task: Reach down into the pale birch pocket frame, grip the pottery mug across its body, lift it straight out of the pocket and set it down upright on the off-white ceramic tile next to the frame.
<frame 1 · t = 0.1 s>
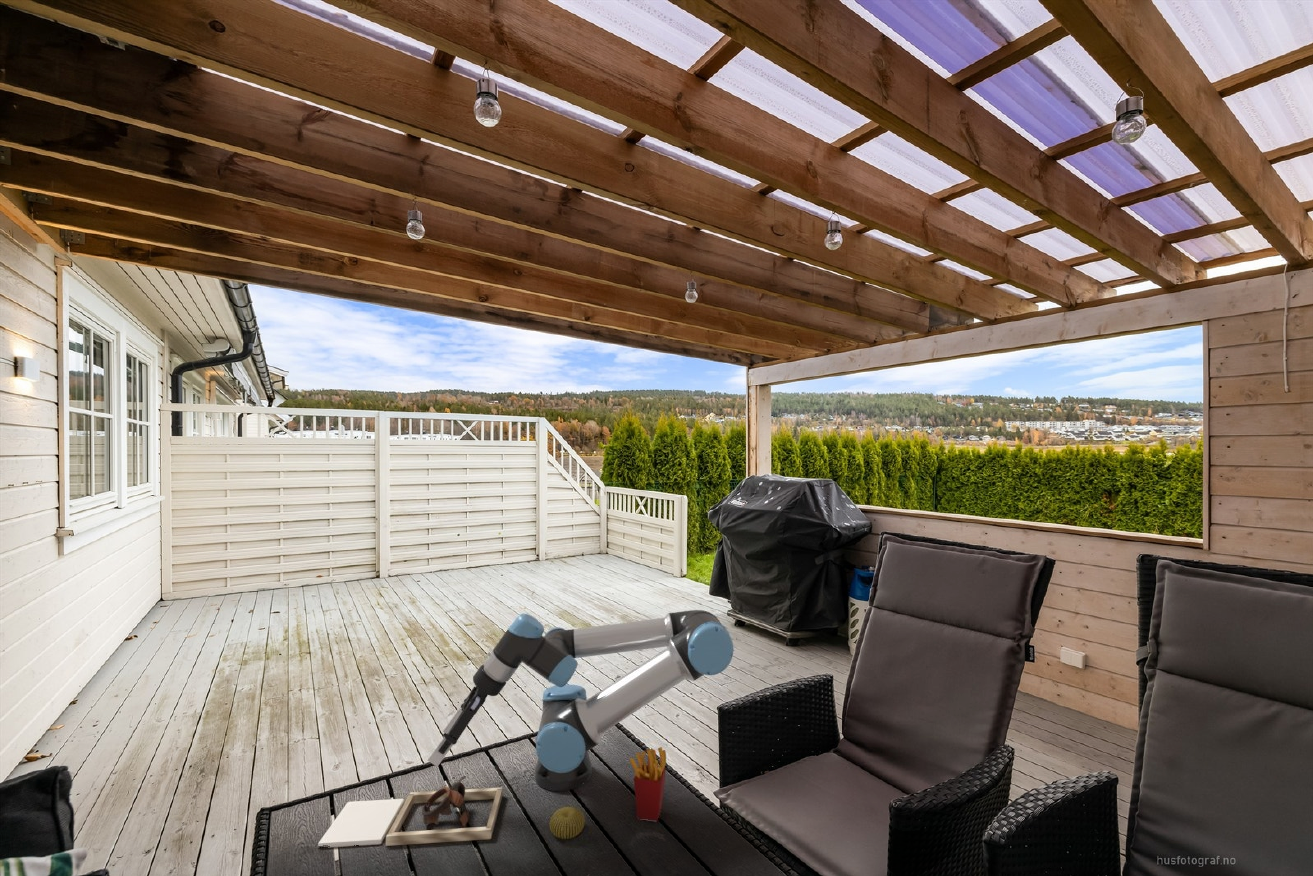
hand: (440, 747, 135), 15 cm above the table, tool tilted 35°, fingers open, 13 cm apart
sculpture: (567, 832, 129), on the table
pocket frame: (448, 819, 133), on the table
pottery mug: (448, 820, 132), on the table
ceramic tile: (363, 824, 130), on the table
french fries: (647, 812, 136), on the table
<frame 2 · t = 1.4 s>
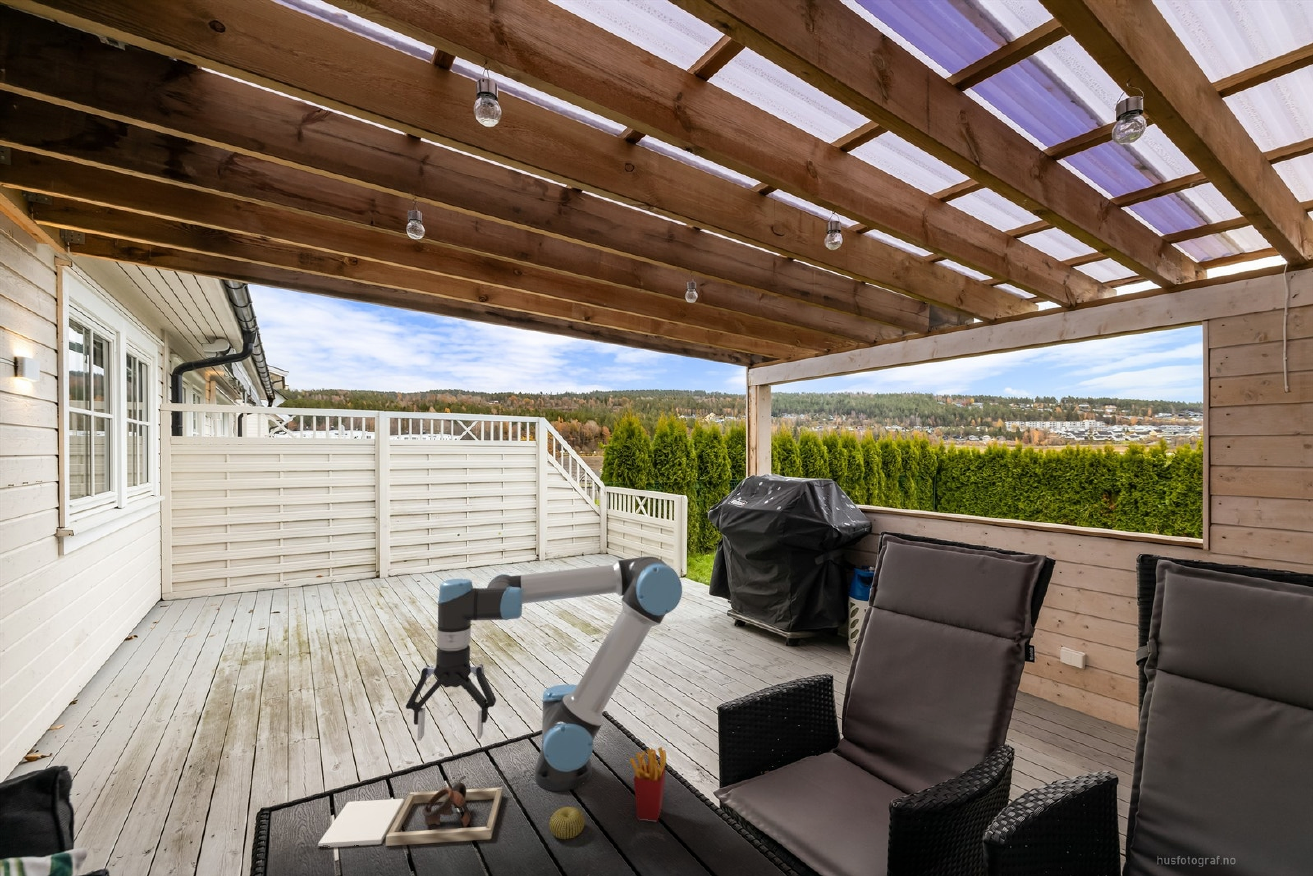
hand: (450, 737, 133), 19 cm above the table, tool pointing down, fingers open, 13 cm apart
nothing on the table moved.
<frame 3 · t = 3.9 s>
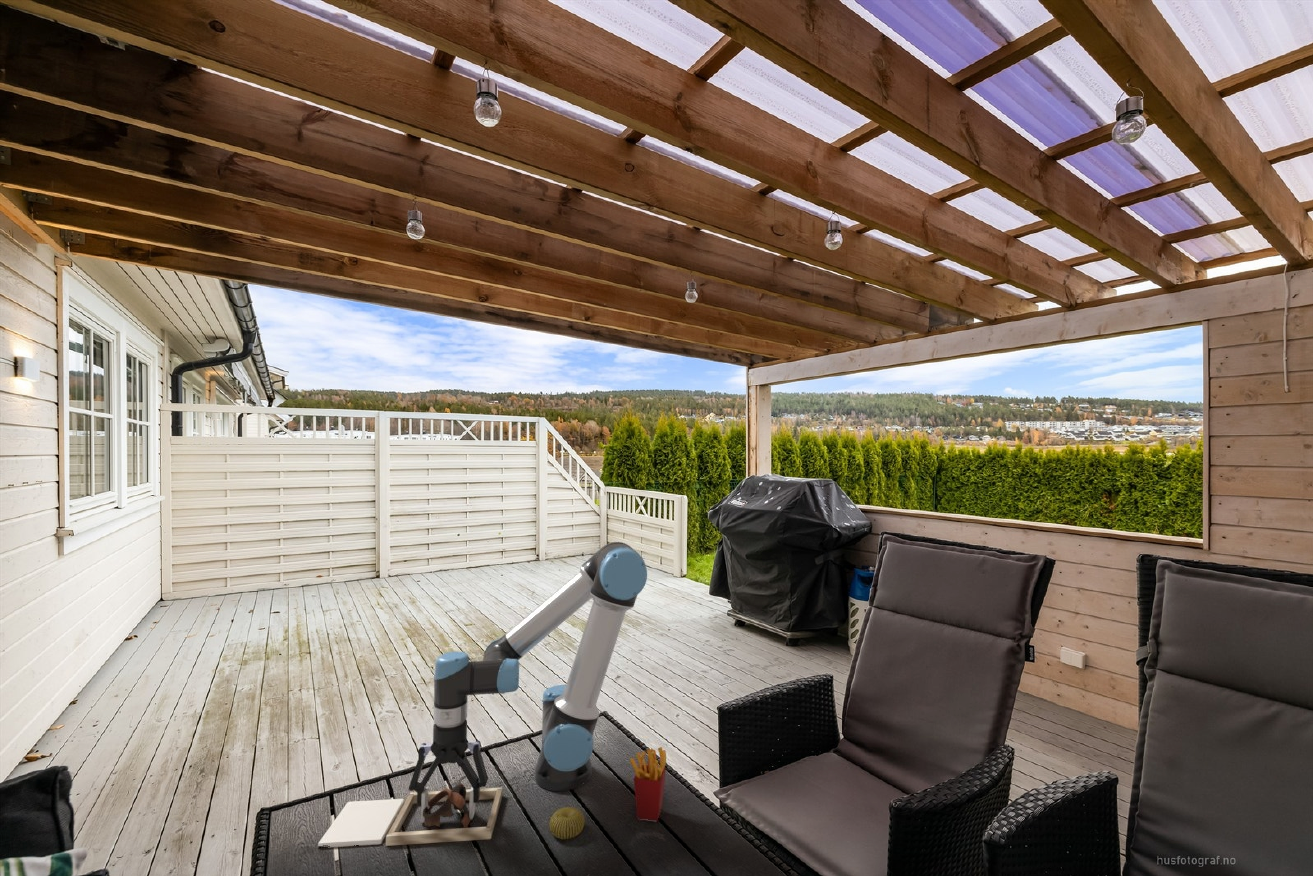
hand: (448, 817, 133), 0 cm above the table, tool pointing down, fingers open, 10 cm apart
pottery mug: (449, 822, 132), on the table, touching gripper
everything else where it was.
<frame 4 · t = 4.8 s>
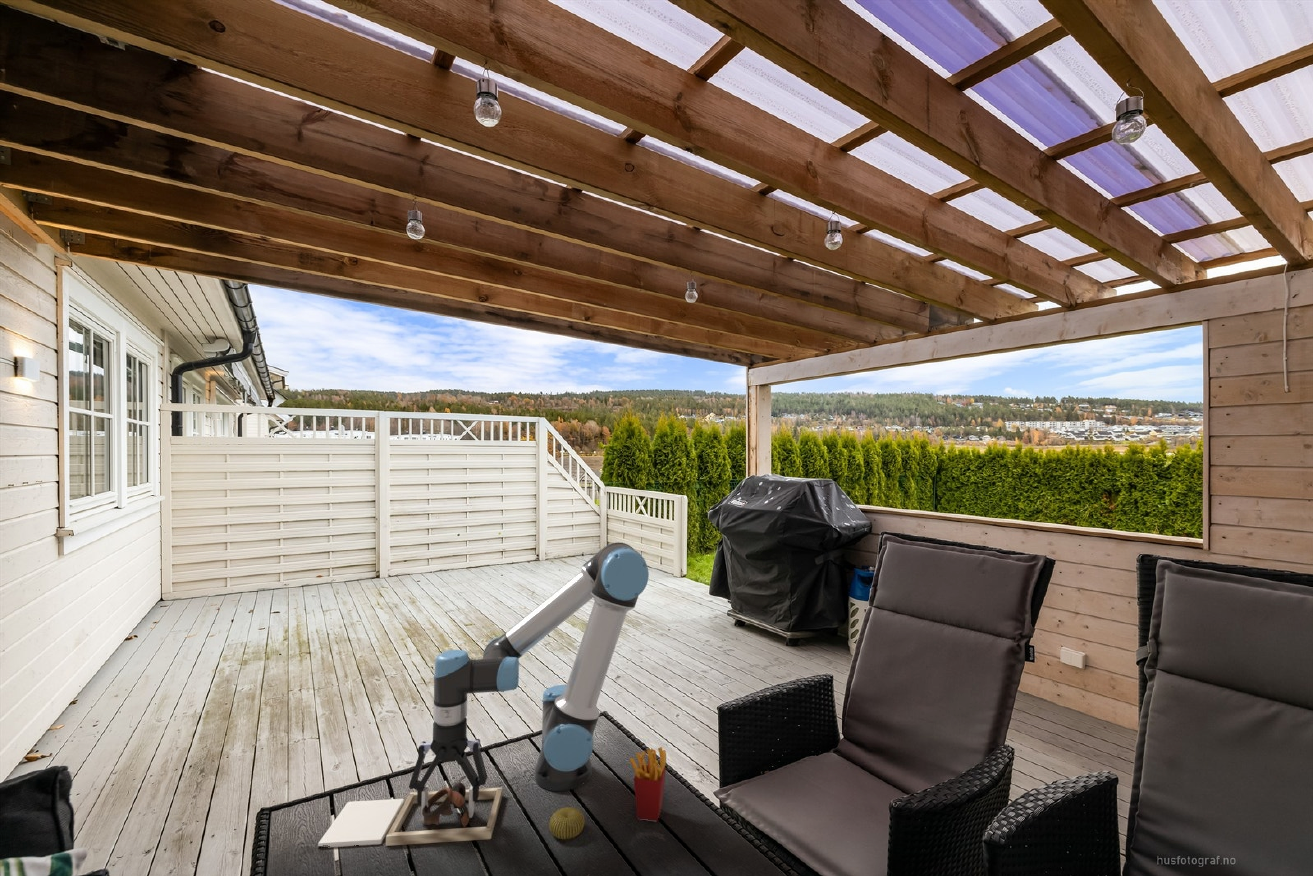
hand: (448, 815, 133), 1 cm above the table, tool pointing down, fingers closed on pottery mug, 10 cm apart
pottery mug: (449, 821, 132), on the table, touching gripper
everything else where it was.
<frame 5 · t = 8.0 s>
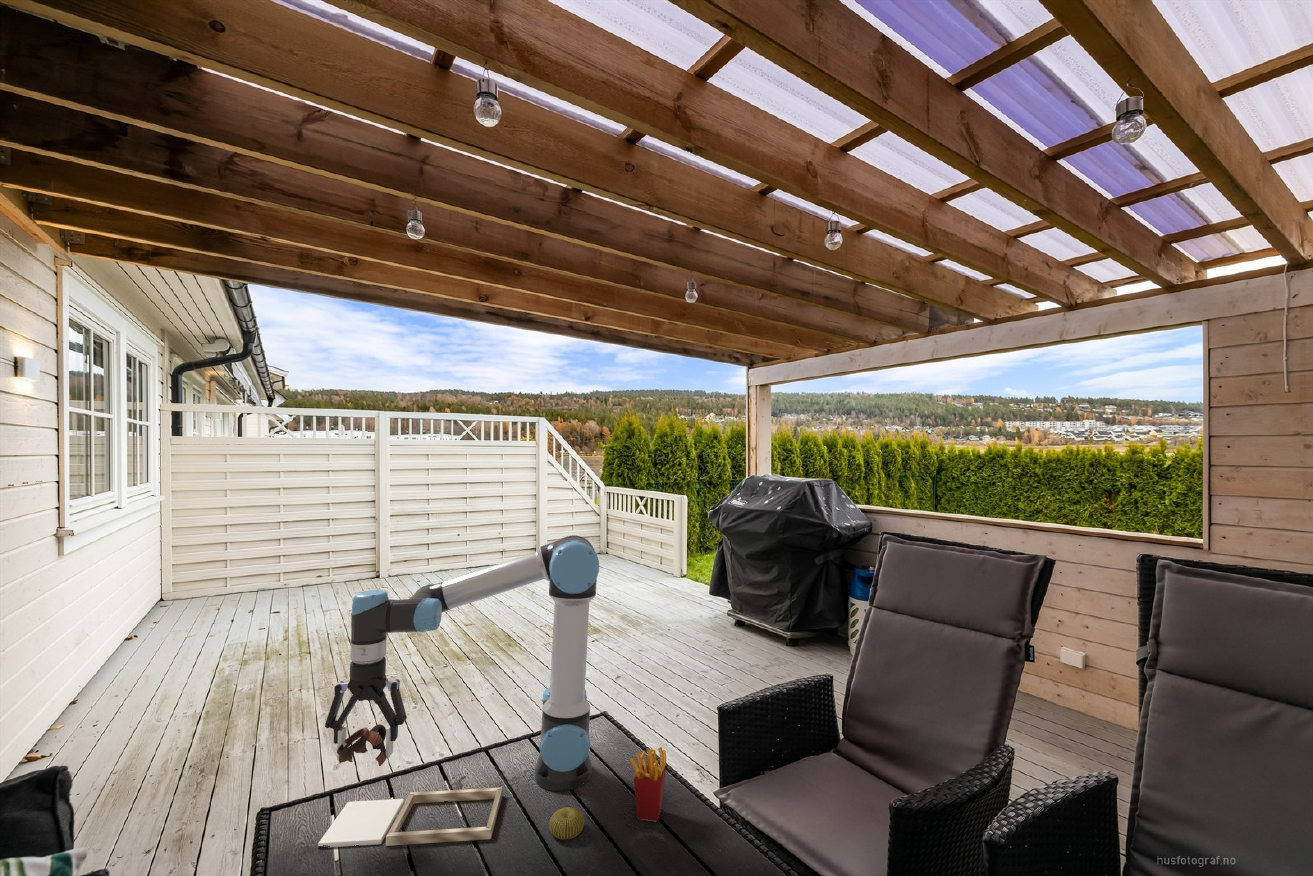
hand: (365, 755, 131), 15 cm above the table, tool pointing down, fingers closed on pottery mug, 10 cm apart
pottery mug: (366, 761, 130), point 15 cm above the table, touching gripper
everything else where it was.
when the fingers open (3 cm above the table, at t = 11.2 s): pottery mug stays where it is, resting on ceramic tile.
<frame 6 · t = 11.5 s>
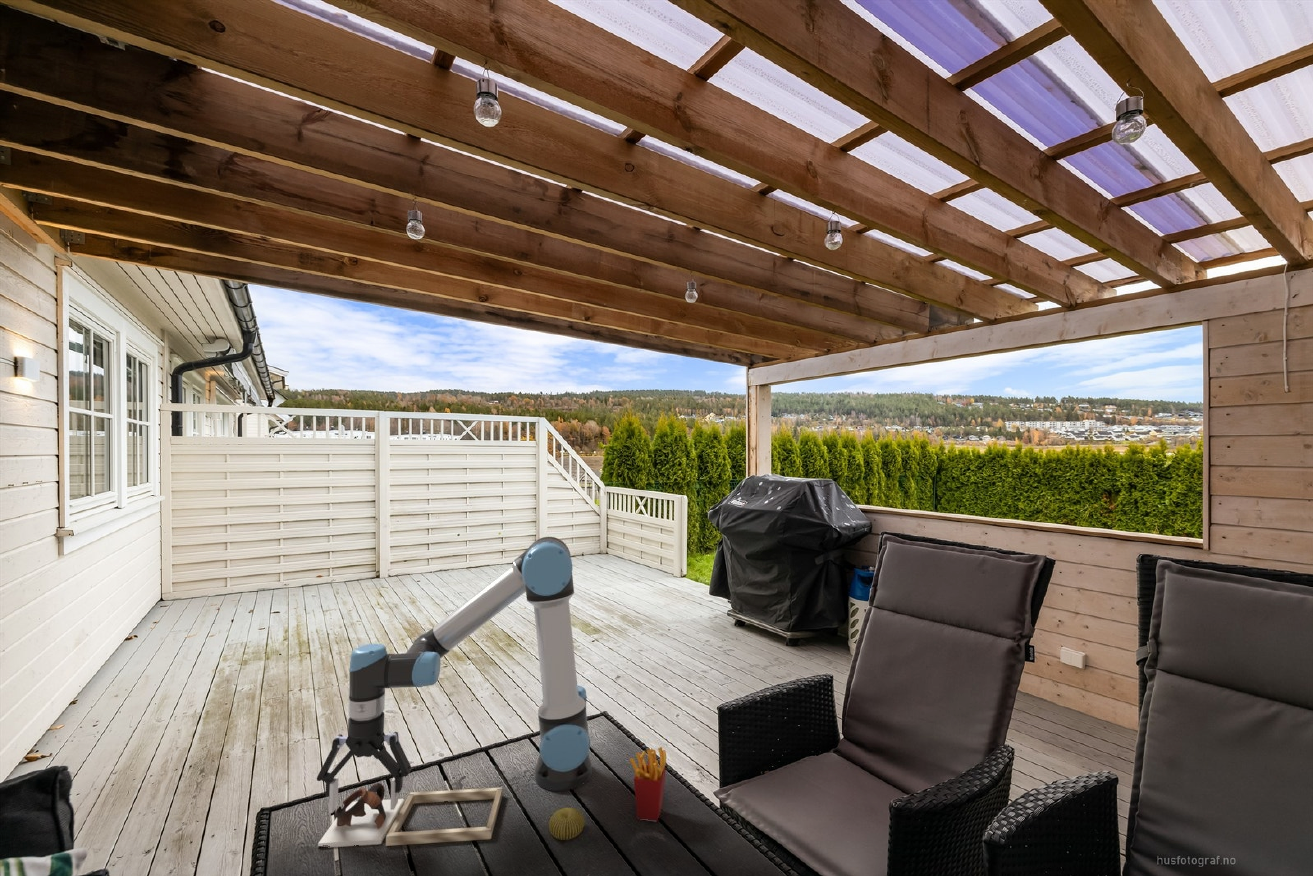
hand: (363, 808, 131), 4 cm above the table, tool pointing down, fingers open, 13 cm apart
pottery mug: (364, 822, 130), point 1 cm above the table, touching ceramic tile
everything else where it was.
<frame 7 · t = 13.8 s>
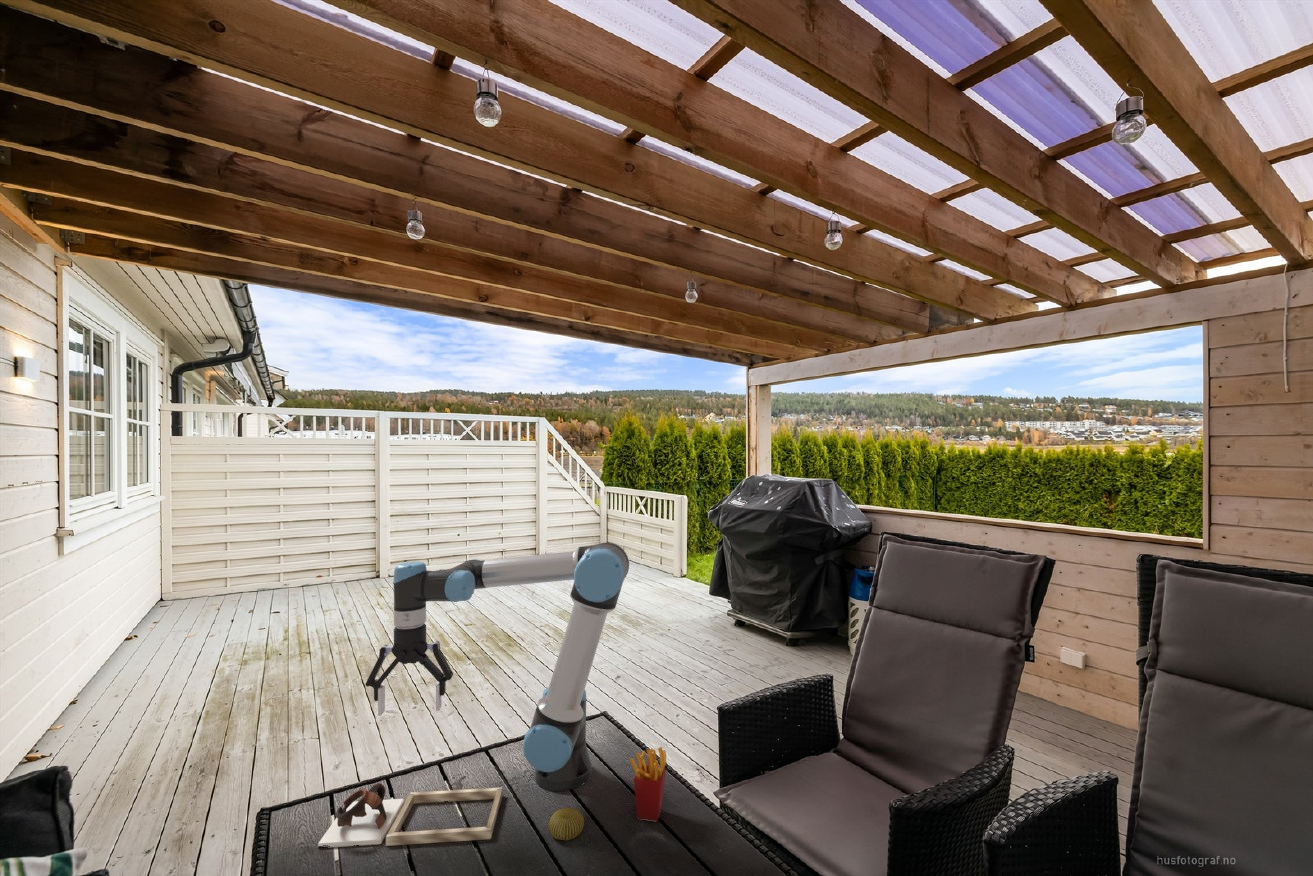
hand: (410, 711, 141), 22 cm above the table, tool pointing down, fingers open, 13 cm apart
nothing on the table moved.
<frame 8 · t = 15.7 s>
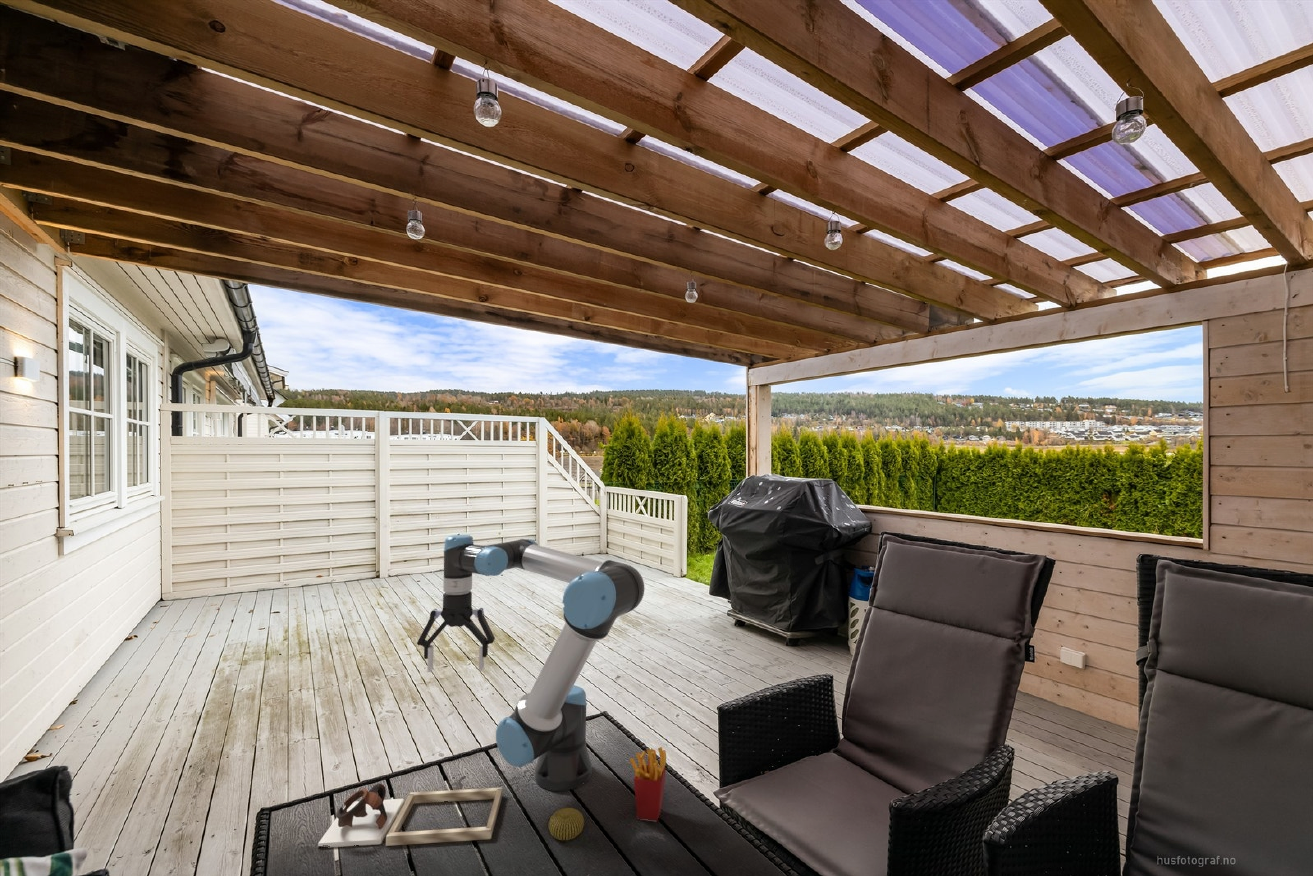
hand: (455, 669, 155), 27 cm above the table, tool pointing down, fingers open, 13 cm apart
nothing on the table moved.
at the end: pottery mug inside the target area on the ceramic tile (1.3 cm from its centre), point 0.8 cm above the ceramic tile's base; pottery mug tilted 1°; the gripper is holding nothing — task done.
